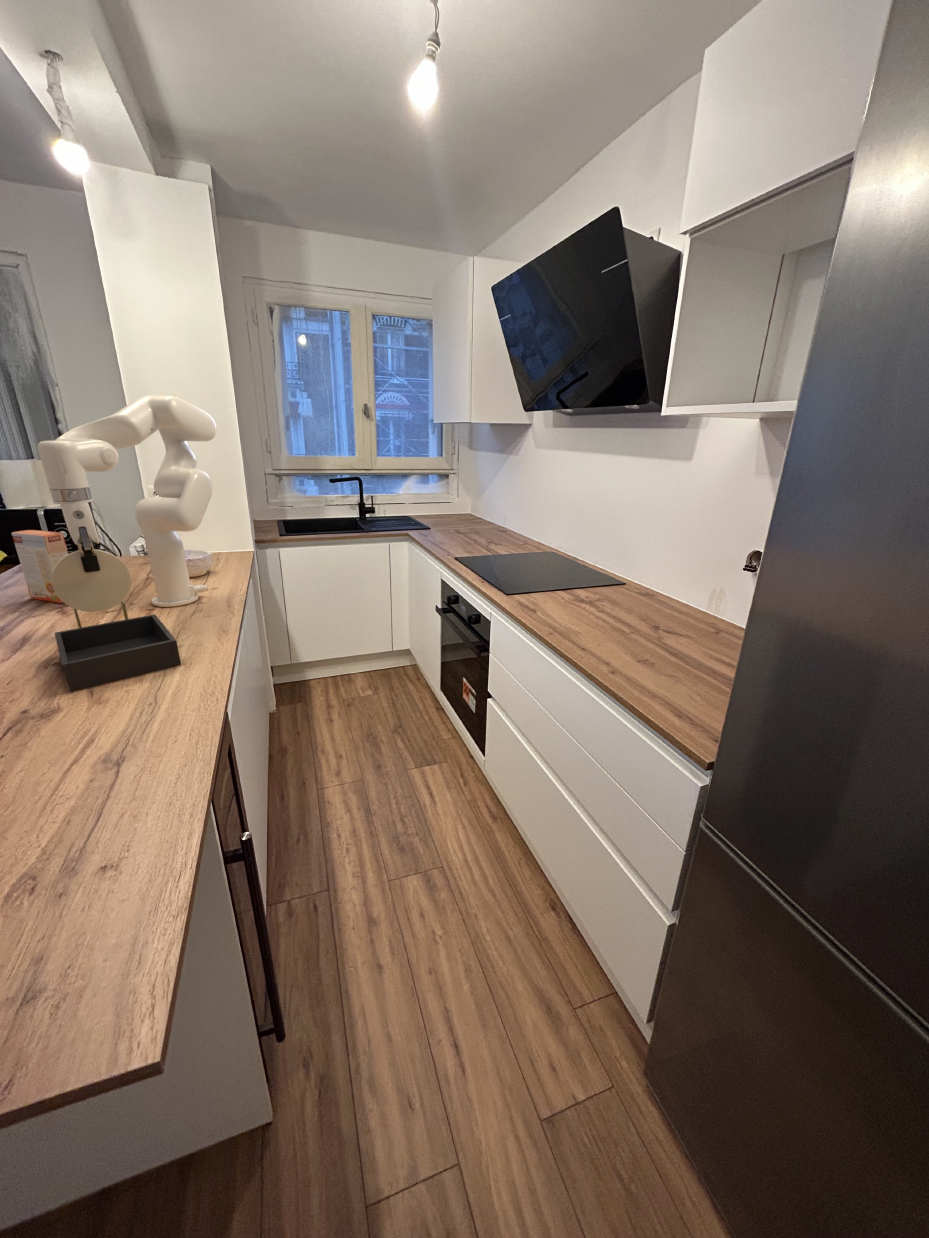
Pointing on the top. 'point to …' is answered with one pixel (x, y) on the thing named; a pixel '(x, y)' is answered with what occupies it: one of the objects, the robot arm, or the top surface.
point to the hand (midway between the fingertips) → (92, 570)
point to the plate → (91, 582)
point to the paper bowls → (198, 562)
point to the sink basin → (115, 651)
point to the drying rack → (122, 608)
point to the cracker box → (40, 560)
